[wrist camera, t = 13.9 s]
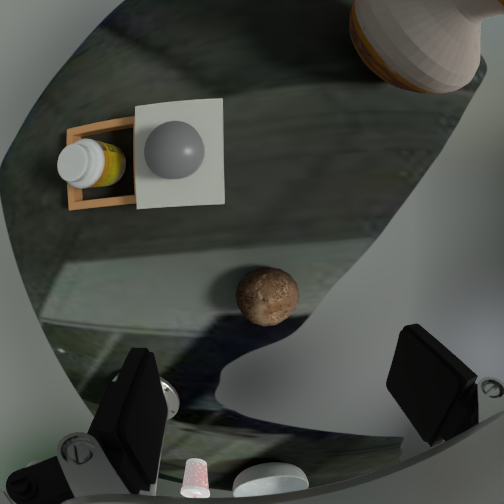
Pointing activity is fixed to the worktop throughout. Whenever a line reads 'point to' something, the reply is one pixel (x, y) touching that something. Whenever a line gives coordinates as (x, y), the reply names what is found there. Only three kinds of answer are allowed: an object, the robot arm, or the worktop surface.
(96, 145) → the supplement bottle
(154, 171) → the open box with knob
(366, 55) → the jug
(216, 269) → the worktop surface
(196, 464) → the beverage cup
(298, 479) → the cereal bowl
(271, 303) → the mushroom
